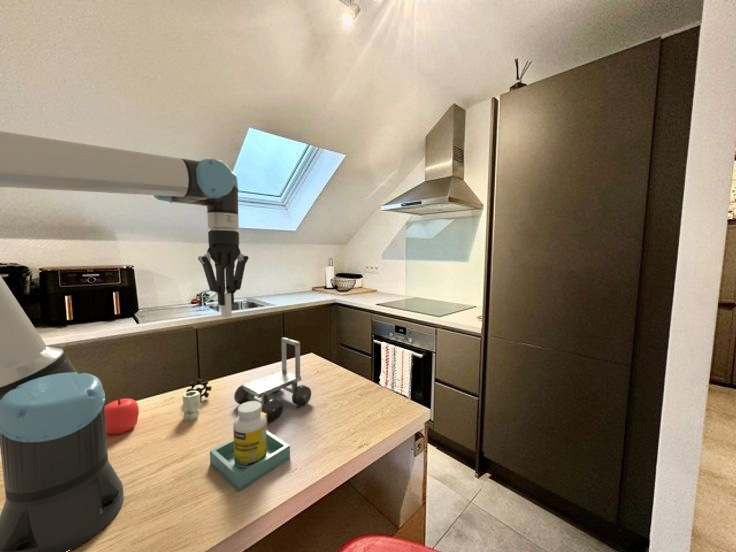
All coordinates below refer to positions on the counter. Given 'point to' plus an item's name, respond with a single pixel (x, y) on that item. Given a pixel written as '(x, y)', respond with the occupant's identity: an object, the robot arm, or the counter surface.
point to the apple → (121, 415)
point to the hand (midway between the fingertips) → (226, 316)
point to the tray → (245, 476)
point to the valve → (194, 399)
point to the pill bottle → (249, 434)
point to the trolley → (276, 386)
